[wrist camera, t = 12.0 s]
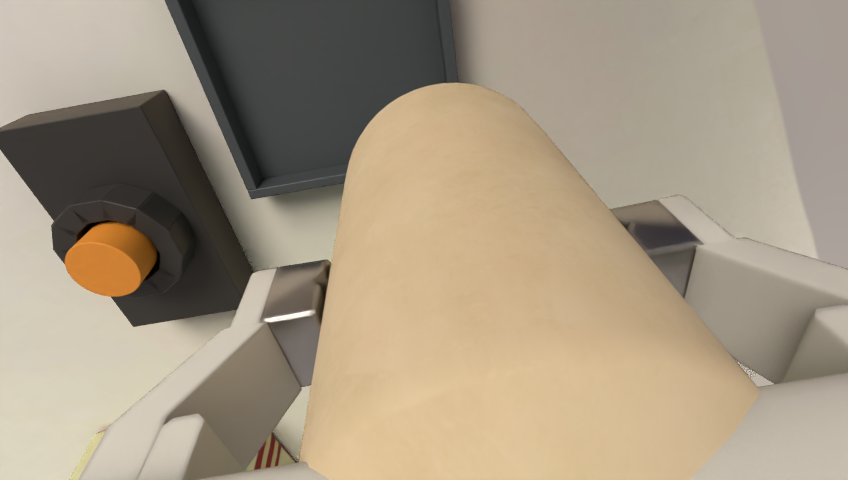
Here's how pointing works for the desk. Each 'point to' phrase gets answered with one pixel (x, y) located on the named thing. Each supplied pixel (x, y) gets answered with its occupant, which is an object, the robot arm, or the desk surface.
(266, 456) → the gift box
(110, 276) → the orange button cap
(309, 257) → the desk surface
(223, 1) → the soap tray
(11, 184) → the desk surface
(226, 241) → the button base
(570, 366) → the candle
